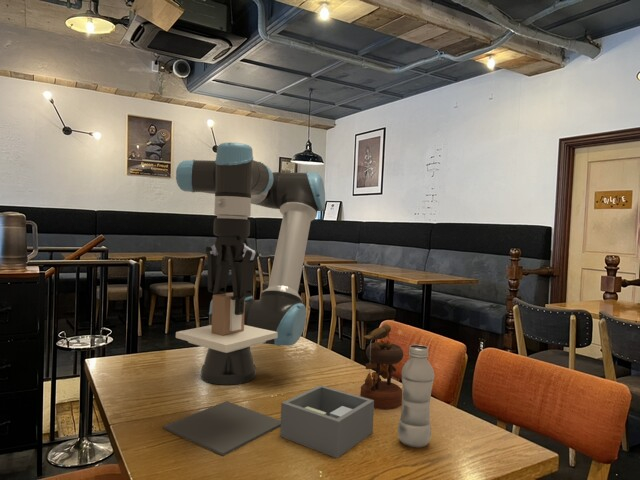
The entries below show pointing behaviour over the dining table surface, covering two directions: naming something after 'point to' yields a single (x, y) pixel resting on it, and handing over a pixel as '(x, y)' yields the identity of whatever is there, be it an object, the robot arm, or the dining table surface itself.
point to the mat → (223, 427)
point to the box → (327, 420)
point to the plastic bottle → (416, 398)
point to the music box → (382, 371)
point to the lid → (225, 330)
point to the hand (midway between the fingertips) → (228, 327)
